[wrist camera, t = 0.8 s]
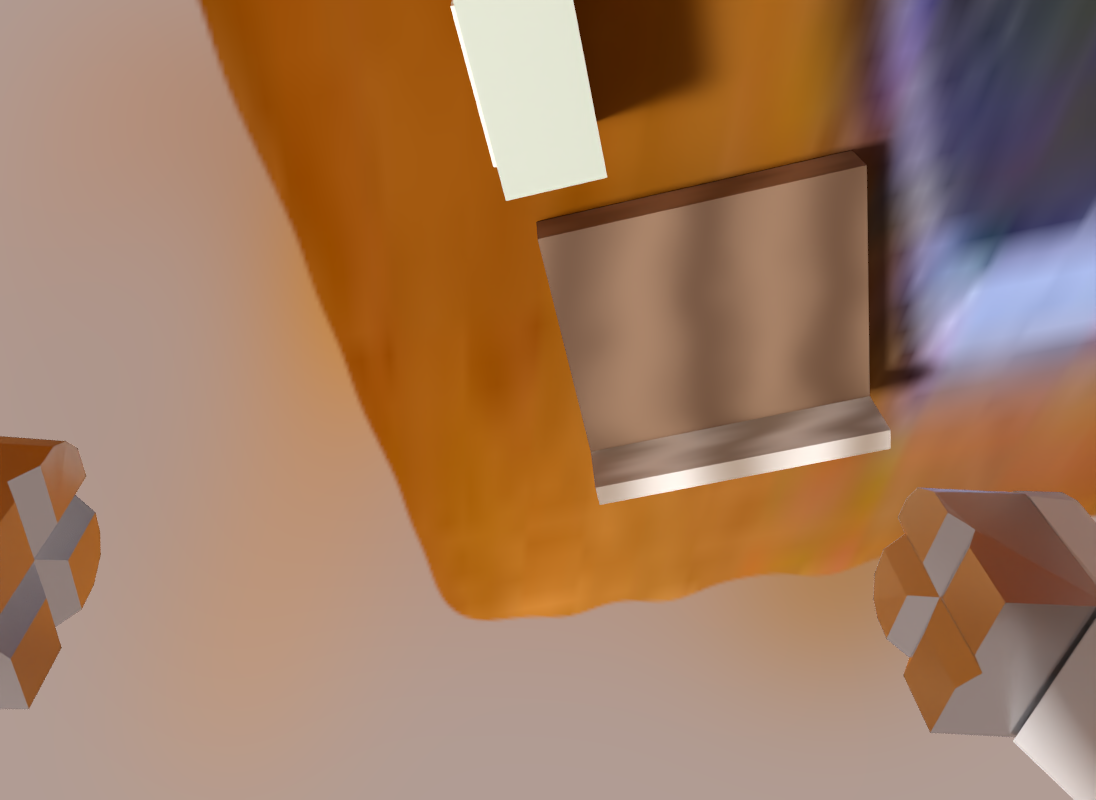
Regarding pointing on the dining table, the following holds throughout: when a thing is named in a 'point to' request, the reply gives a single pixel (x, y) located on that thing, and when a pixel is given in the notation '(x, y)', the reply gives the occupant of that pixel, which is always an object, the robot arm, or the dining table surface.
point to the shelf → (719, 327)
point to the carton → (531, 92)
